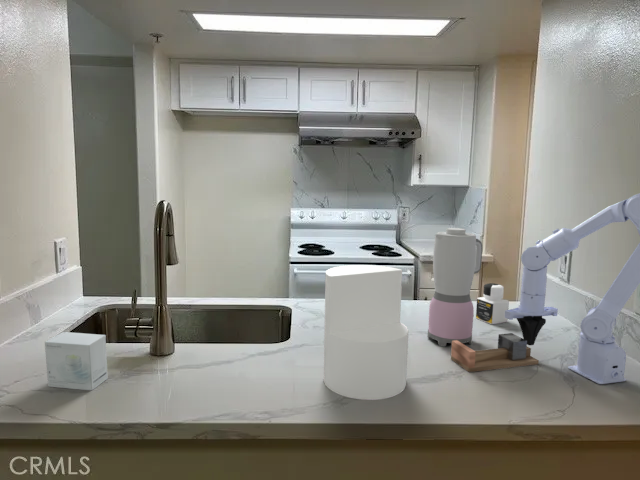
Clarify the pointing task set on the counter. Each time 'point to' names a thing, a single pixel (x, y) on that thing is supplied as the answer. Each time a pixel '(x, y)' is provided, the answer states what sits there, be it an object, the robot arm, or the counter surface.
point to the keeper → (513, 345)
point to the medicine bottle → (492, 304)
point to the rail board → (499, 364)
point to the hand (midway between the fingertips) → (528, 343)
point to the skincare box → (76, 360)
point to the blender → (453, 285)
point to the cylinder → (364, 332)
